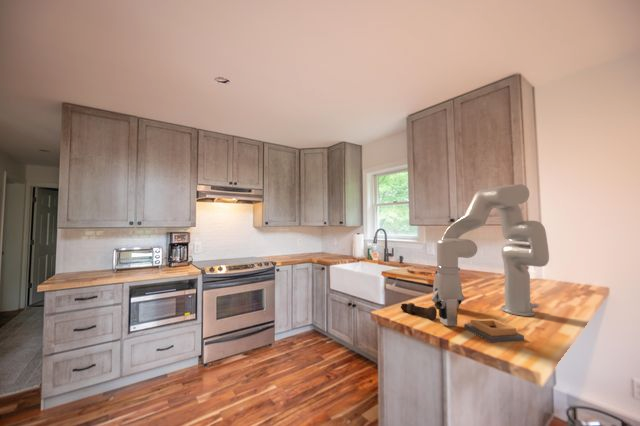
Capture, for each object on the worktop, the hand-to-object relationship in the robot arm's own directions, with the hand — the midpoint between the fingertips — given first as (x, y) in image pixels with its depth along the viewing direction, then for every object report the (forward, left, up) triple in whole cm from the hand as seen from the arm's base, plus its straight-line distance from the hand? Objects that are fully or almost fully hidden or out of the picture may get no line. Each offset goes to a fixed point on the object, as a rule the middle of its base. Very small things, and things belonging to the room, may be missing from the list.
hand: (448, 316), depth 105 cm
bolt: (+5, -14, -4) cm, 15 cm away
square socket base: (-12, +9, -3) cm, 15 cm away
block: (0, 0, -2) cm, 2 cm away
